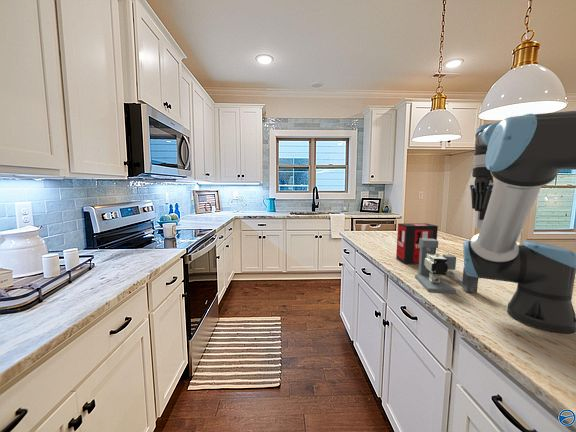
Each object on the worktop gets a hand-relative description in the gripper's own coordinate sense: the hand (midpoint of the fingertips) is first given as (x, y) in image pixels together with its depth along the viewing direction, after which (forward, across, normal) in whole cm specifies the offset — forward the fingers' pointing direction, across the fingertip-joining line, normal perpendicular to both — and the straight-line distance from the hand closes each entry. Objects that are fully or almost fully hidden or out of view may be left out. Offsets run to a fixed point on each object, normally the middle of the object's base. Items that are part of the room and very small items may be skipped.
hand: (479, 227), depth 100 cm
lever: (+24, +3, +4) cm, 25 cm away
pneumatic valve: (+23, 0, +16) cm, 28 cm away
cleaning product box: (+25, +34, +10) cm, 43 cm away
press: (+24, +4, +11) cm, 27 cm away
